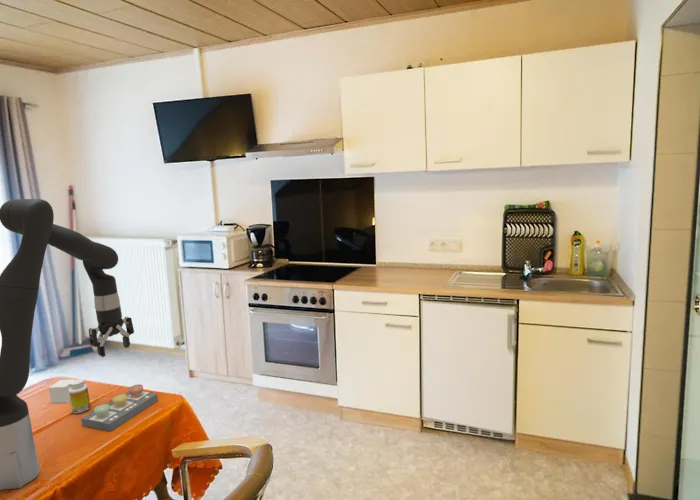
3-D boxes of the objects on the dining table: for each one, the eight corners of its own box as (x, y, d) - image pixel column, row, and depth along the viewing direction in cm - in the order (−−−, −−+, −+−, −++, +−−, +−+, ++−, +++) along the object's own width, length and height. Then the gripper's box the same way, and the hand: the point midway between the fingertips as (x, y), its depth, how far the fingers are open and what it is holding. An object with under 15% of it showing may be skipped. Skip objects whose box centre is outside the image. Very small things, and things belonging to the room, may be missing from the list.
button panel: (110, 431, 144) (109, 423, 144) (82, 425, 149) (80, 417, 148) (157, 400, 163) (157, 393, 162) (131, 396, 167) (130, 389, 167)
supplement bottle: (92, 409, 159) (87, 381, 157) (73, 415, 155) (68, 387, 154) (89, 404, 163) (84, 376, 161) (70, 409, 160) (65, 381, 158)
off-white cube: (51, 403, 165) (48, 387, 164) (62, 395, 171) (59, 379, 170) (68, 402, 165) (65, 386, 164) (78, 394, 171) (75, 379, 170)
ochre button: (119, 405, 152) (119, 401, 152) (109, 403, 154) (108, 399, 154) (130, 399, 156) (129, 394, 156) (120, 397, 158) (119, 393, 158)
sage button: (101, 416, 146) (100, 411, 146) (91, 414, 147) (90, 409, 147) (113, 409, 150) (112, 404, 150) (103, 407, 152) (102, 403, 151)
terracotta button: (136, 395, 159) (135, 391, 158) (126, 393, 160) (125, 389, 160) (146, 389, 163) (145, 385, 162) (136, 388, 164) (135, 383, 164)
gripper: (92, 314, 150) (100, 361, 153) (133, 301, 162) (140, 346, 165) (80, 311, 154) (88, 357, 157) (121, 299, 166) (128, 342, 169)
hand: (115, 351), depth 161 cm, fingers open, 8 cm apart
